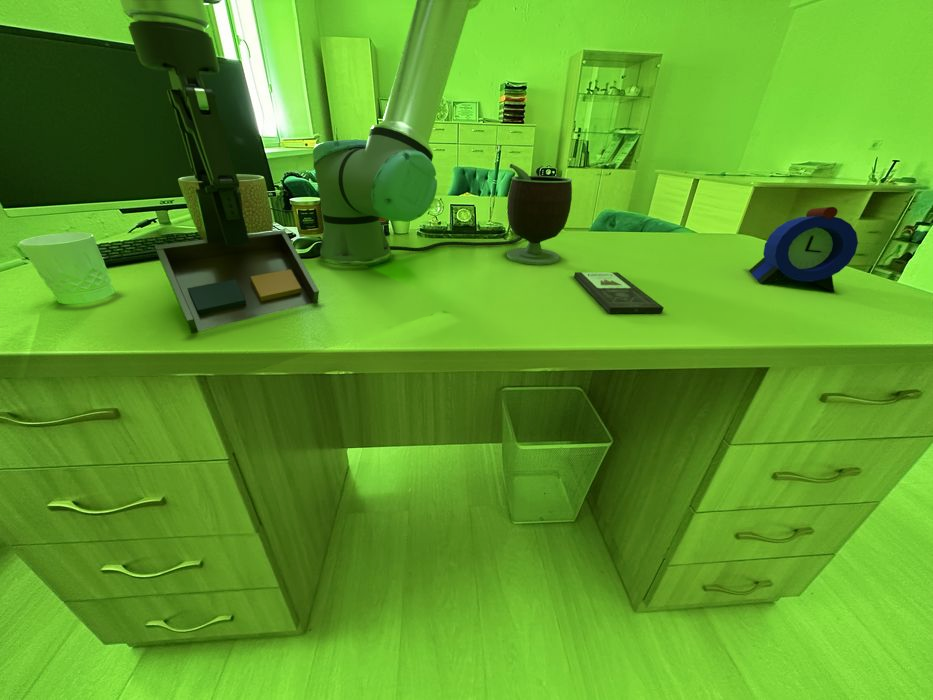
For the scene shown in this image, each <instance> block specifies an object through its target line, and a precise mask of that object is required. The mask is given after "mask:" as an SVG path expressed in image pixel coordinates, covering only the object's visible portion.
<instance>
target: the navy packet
mask: <svg viewBox="0 0 933 700" xmlns="http://www.w3.org/2000/svg"><path fill="white" fill-rule="evenodd" d="M188 292H189V295H190V297H191V299H192V301H193V304H194V306H195V308H196V310H197V313H198V315H202V314H206V313H211V312H215V311H220V310H224V309H229V308H234V307H238V306H243V305H246V300H245V298H244V296H243V294H242V292H241V290H240V288H239V286H238V283H237V281H236V280H229V281H224V282H218V283H213V284H207V285H202V286H196V287H191V288H188Z"/></svg>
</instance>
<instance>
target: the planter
mask: <svg viewBox="0 0 933 700" xmlns="http://www.w3.org/2000/svg"><path fill="white" fill-rule="evenodd" d="M236 176H237V179H238V180H239V190H240V192H241V200H242V209H243V217H244V221H245V225H246V228H247V232H248V234H253V233H261V232H270V231H274V221H273V220H274V219H273V214H272V208H271V203H270V199H269V194H268V193H269V192H268V188H267V183H266V179H265V177H264V176H262V175H257V174H241V173H240V174H239V173H236ZM177 182H178V186H179V188H180V191H181V193H182V197H183V199H184V201H185V205H186V207H187V210H188V213H189V215H190V217H191V220H192V222H193V224H194V226H195V229H196V231H197V232H198V234H199V236H200V237H201V238H202V240H203V239H206V237H205V233H204V228H203V224H202V219H201V215H200V210H199V206H198V201H197V196H196V192H195V190H197V189H199V186H198V183H201V181H197V179H196V178H195V175H189V176H182V177H179V178H178V179H177Z"/></svg>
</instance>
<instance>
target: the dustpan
mask: <svg viewBox="0 0 933 700" xmlns="http://www.w3.org/2000/svg"><path fill="white" fill-rule="evenodd" d="M195 192H196V196H197V201H198V206H199V210H200V215H201V219H202V224H203V228H204V233H205V237H206V239H203V238H202V239H198V240H196V239H195V240H188V241H180V242H179V241H178V242H170V243H163V244H154V249H155V251H156V254H157V257H158V260H159V262H160V264H161V265H160V266H161V267H162V269H163V272H164V273H165V277H166V279H167V281H168V283H169V286H170V288H171V291H172V292H173V295H174V298H175V300H176V302H177V304H178V307H179V309H180V311H181V313H182V315H183V318H184V320H185V323H186V325H187V327H188V329H189V332H190V334H194V333H198V332H200V331H204V330H208V329H212V328H213V329H214V328H216V327H220V326H224V325H225V326H226V325H229V324H233V323H236V322H237V323H238V322H241V321H245V320H249V319H254V318H258V317H262V316H267V315H270V314H274V313H278V312H282V311H287V310H292V309H295V308H299V307H303V306H307V305H311V304H317V303H319V296H320V290H319V288H318V287H317V285H316V283H315V281H314V279H313V277H312V275H311V274H310V272H309V271H308V269H307V267H306V265H305V264H304V262H303V259H302V258H301V256H300V254H299V253H298V251H297V249H296V247H295V246H294V244H293V242H292V240H291V239H290V237H289V235H288V233H287V231H286V230H285V229H278V230H273V231H270V232H261V233H253V234H248V236H249V240H250V243H249V244H241V245H234V246H227V245H226V242H225V238H224V235H223V232H222V228H221V225H220V221H219V218H218V215H217V211H216V208H215V205H214V201H213V198H212V194H211V193H207V192H206V190H205V189H197V190H195ZM237 194H238V198H239V202H240V205H241V209H242V200H241V192H240V190H239V188H237ZM242 213H243V209H242ZM289 269H291V270H292V272H293V274H294V276H295V277H296V279H297V281H298V283H299V285H300V287H301V293H297V294H292V295H288V296H283V297H279V298H274V299H270V300H265V301H260V299H259V297H258V295H257V293H256V291H255V289H254V287H253V285H252V283H251V278H250V277H251V276H256V275H262V274H267V273H273V272H278V271H284V270H289ZM229 280H236V281H237V283H238V286H239V288H240V290H241V292H242V294H243V296H244V298H245V300H246V305H243V306H238V307H234V308H229V309H224V310H220V311H215V312H211V313H206V314H202V315H198V313H197V310H196V308H195V306H194V304H193V301H192V299H191V297H190V295H189V292H188V288H191V287H196V286H202V285H207V284H213V283H218V282H224V281H229Z"/></svg>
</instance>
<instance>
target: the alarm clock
mask: <svg viewBox="0 0 933 700" xmlns="http://www.w3.org/2000/svg"><path fill="white" fill-rule="evenodd" d="M838 212H839V211H838V209H837V207H835V206H828V207H827V206H826V207H825V206H824V207H815V208H810V209H808V210H807V212H806V214H805V216H799V217H796V218H793V219H790V220H787V221H786V222H784V223H783V224H781V225H779V226H777V227H776V228H775V229H774V230H773V232H772V233H770V234H769V236H768V238H767V240H766V242H765V243H764V248H763V254H762V255H763V258H761V259H760V260H759V261H758V262H757V263H755V264H754V265H753V266H752V267H751V268H750V269H749V270H748V272H749V273H750V274H751V275H752V277H754V278H755V280H756V281H757V282H758V283H759V284H760V285H761V284H766V283H771V282H776V281H781V280H786V278H788V279H792V280H795V281H799V282H813V283H816V284H817V285H819V286H821V287H823V288H825V289H826V290H828V291H830V292H832V293H835V287H834V286H835V285H834V280H833V276H834V275H836V274H838V273H840V272H841V271H842V270H843V269H845V268H846V267H847V266H848V265H849V264H850V262H851V261H852V260H853V258H854V256H855V255H856V253H857V247H858V245H859V241H858V235H857V231H856V230H855V228H854V227H853V226H852V224H851V223H850V222H848V221H846V220H845V219H843V218H841V217H837V215H838Z"/></svg>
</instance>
